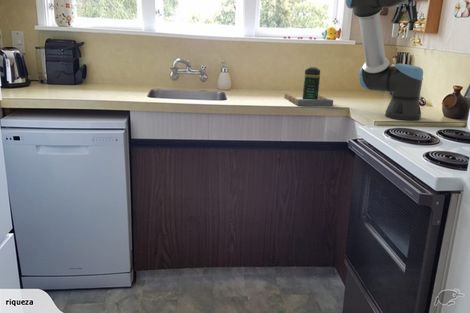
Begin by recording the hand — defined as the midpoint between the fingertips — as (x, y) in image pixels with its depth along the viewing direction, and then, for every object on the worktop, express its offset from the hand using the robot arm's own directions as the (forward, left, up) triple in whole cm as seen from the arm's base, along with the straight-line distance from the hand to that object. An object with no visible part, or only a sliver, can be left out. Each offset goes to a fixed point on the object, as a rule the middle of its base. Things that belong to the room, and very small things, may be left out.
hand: (401, 37), depth 208 cm
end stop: (+4, +40, -35) cm, 53 cm away
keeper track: (+17, +40, -35) cm, 56 cm away
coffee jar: (+11, +40, -35) cm, 54 cm away
